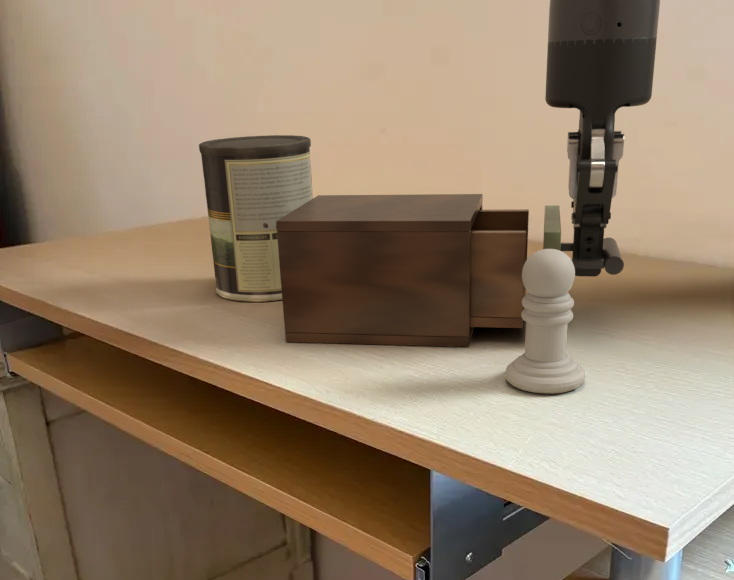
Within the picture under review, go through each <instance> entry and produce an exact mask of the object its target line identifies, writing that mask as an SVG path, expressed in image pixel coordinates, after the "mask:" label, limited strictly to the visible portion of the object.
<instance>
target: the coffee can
mask: <svg viewBox="0 0 734 580" xmlns="http://www.w3.org/2000/svg"><path fill="white" fill-rule="evenodd" d="M311 143H312V141H311V138H310V137H308V136H304V135H291V134H290V135H288V134H287V135H285V134H283V135H280V134H279V135H278V134H276V135H275V134H273V135H272V134H270V135H252V136H250V135H249V136H235V137H226V138H217V139H210V140H206V141H203V142H201V143H199V144H198V150H199V152H200V156H201V165H202V173H203V174H202V175H203V182H204V190H205V191H204V192H205V200H206V207H207V216H208V217H207V218H208V226H209V234H210V243H211V253H212V263H213V269H214V278H215V293H216V295H217V296H219V297H220V298H222V299H226V300H230V301H233V302H246V303H263V302H276V301H282V289H281V277H280V264H279V251H278V239H277V227H276V221H277V220H279V219H281V218H282V217H284V216H285V215H287V214H289V213H290V212H292V211H294V210H295V209H297V208H298V207H300V206H302V205H303V204H305V203H307V202H308V201H310V200H311V199H313V198H314V196H313V181H312V179H313V178H312V166H311V149H310V148H311V147H312V144H311Z"/></svg>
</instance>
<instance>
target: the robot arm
mask: <svg viewBox="0 0 734 580" xmlns="http://www.w3.org/2000/svg"><path fill="white" fill-rule="evenodd" d="M660 6H661V0H549V7H548V8H549V9H548V32H547V53H546V55H547V56H546V57H547V58H546V75H545V96H544V99H545V102H546V104H547V105H548V106H549V107H551V108H557V109H576V110H579V119H578V120H579V121H578V130H577V131H568V132H567V140H566V143H567V144H566V153H567V159H568V160H569V167H568V182H567V183H568V195H569V197H570V198H571V199H572V201H571V205H570V208H571V209H572V213H571V214H570V216H571V217H570V219H571V225H572V226H573V239H572V240H573V242H572V243H573V251H572V256H571V257H572V258H571V259H602V253H603V240H604V238H605V229H607V225H609V222H610V220H611V217H612V212H611V208H612V207H611V206H612V201H613V199H614V197H615V196H616V195H617V188H618V187H617V186H618V175H619V163H620V160H621V159H622V158H623V156H624V148H625V147H624V146H625V133H622V130H615V122H616V112H617V111H618V110H619V109H621V108H624V107H625V108H626V107H627V108H629V107H630V108H631V107H639V106H644V105H646V104H648V103H649V102H650V101H651V98H652V95H653V86H654V85H653V84H654V74H655V73H654V72H655V64H656V63H655V62H656V53H657V52H656V51H657V41H658V40H657V39H658V27H659V18H660ZM601 273H602V269H583V268H575V277H590V278H591V277H593V278H594V277H598V276H600V275H601Z"/></svg>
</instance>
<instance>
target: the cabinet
mask: <svg viewBox="0 0 734 580" xmlns="http://www.w3.org/2000/svg"><path fill="white" fill-rule="evenodd" d="M483 195H484V194H483V193H445V194H444V193H442V194H440V193H437V194H435V193H434V194H433V193H432V194H431V193H429V194H428V193H427V194H425V193H424V194H326V195H325V194H324V195H322V194H319V195H317V196H315V197H313V199H311V200H310V201H308V202H307V203H305V204H303V205H302V206H300V207H298V208H297V209H295V210H294V211H292V212H290V213H289V214H287V215H285V216H284V217H282V218H281V219H279V220H277V221H276V227H277V239H278V251H279V264H280V277H281V289H282V300H281V301H282V313H283V324H284V326H283V327H284V338H285V342H286V343H315V344H321V343H322V344H345V345H346V344H348V345H349V344H350V345H351V344H353V345H383V346H384V345H387V346H419V347H420V346H421V347H452V348H453V347H457V348H470V347H469V346H470V343H471V341H472V336H473V332H474V329H475V327H470V260H471V228H472V225H473V223H474V221H475V219H476V216H477V214H478V212H479V210H483V202H484V201H483V199H484V198H483V197H484V196H483Z"/></svg>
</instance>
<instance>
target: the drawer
mask: <svg viewBox="0 0 734 580" xmlns="http://www.w3.org/2000/svg"><path fill="white" fill-rule="evenodd" d="M560 207H561V206H560V205H545V206H544V217H543V218H544V219H543V239H542V241H543V242H542V250H543V249H556V250H559V251H562V252H573V242H562V222H561V221H562V220H561V208H560ZM529 215H530V210H529V209H524V208H523V209H521V208H520V209H516V208H515V209H510V208H509V209H505V208H504V209H482V210H479V212H478V214H477V216H476V219H475V221H474V223H473V225H472V228H471V260H470V327H474V328H495V329H496V328H498V329H499V328H500V329H523V327H524V320H523V319H522V316H521V314H522V311H523V310H524V307H523V305H522V299H523V298H524V297H525V296H526V295H527V290H526V288H525V286H524V284H523V280H522V270H523V266H524V264H525V262H526V260H527V259H528V247H529V246H528V243H529V220H530V219H529V218H530V217H529ZM570 259H571V260H572V262H573V265H574V268H583V269H601V270H602V269H603V270H605V272H606V273H607V274H609V275H612V276H613V275H614V276H615V275H618V274H620V273H621V272H622V271H624V270H623V269H624V267H625V263H624V260H623V256H622V253H621V252H620V248H619V246H618V243H617V241H616V239H615V238H613V237H604V240H603V253H602V259H572V258H570Z"/></svg>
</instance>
